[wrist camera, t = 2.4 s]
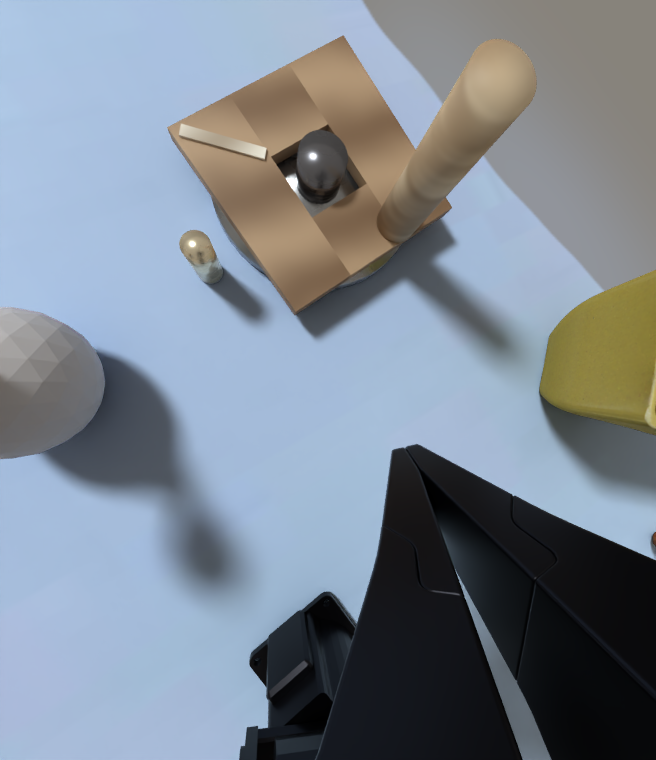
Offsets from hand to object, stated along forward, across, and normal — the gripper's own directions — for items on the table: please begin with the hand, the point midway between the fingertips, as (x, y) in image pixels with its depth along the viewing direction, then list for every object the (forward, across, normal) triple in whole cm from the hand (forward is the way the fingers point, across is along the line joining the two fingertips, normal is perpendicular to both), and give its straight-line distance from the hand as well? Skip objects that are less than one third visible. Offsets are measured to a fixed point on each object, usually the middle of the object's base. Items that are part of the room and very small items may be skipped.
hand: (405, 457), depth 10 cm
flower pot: (+14, +17, -9) cm, 23 cm away
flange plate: (+18, 0, +8) cm, 19 cm away
